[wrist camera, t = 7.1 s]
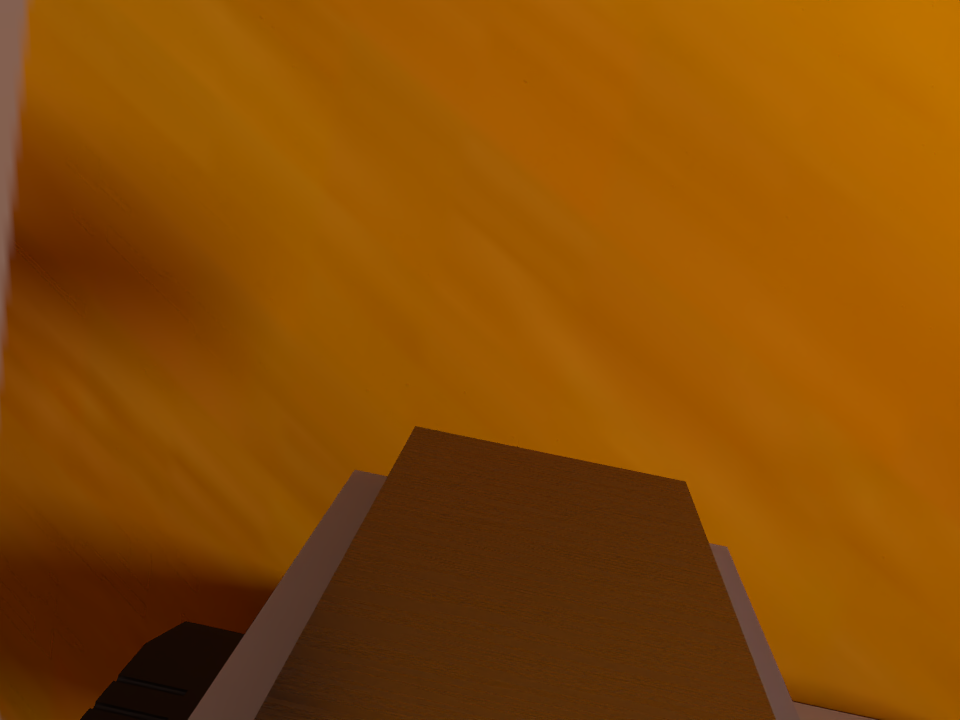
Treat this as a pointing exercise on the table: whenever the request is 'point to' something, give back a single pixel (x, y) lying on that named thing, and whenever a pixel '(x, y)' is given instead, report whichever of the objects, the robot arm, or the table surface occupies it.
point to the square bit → (521, 599)
